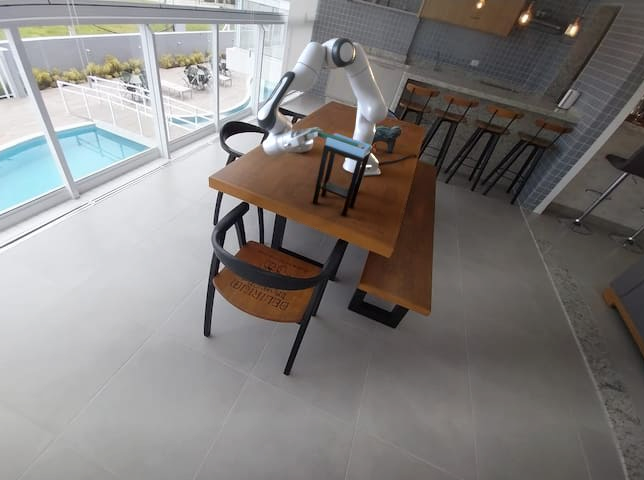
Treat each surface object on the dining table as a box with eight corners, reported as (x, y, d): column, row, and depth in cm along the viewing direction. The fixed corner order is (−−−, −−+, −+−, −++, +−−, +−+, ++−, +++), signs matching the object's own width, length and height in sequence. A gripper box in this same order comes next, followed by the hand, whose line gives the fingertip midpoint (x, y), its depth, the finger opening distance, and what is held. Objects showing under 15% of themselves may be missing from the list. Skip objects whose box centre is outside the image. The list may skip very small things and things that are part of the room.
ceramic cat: (393, 151, 210) (404, 121, 197) (394, 155, 206) (405, 124, 192) (365, 146, 210) (374, 115, 197) (365, 149, 205) (375, 118, 192)
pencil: (310, 133, 129) (310, 130, 128) (312, 132, 131) (313, 128, 130) (362, 151, 123) (363, 147, 122) (364, 149, 124) (365, 146, 123)
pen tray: (325, 144, 126) (327, 137, 124) (333, 140, 131) (334, 133, 129) (363, 157, 121) (365, 150, 119) (369, 152, 126) (371, 145, 124)
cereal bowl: (309, 158, 182) (311, 146, 177) (282, 152, 182) (283, 140, 178) (313, 148, 194) (315, 136, 189) (288, 142, 195) (289, 131, 190)
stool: (312, 203, 143) (323, 145, 125) (322, 194, 150) (334, 139, 132) (345, 216, 138) (361, 159, 120) (353, 207, 146) (370, 151, 128)
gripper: (279, 139, 128) (306, 130, 120) (302, 128, 142) (327, 120, 134) (283, 154, 131) (310, 146, 123) (306, 142, 145) (331, 134, 137)
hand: (319, 132), depth 128 cm, fingers closed on pencil, 2 cm apart
